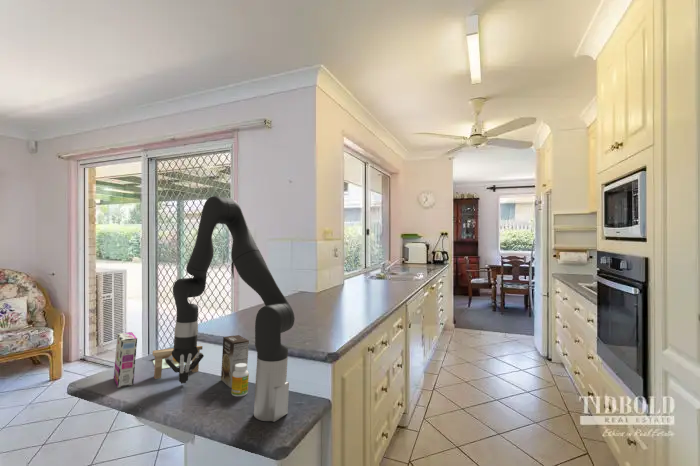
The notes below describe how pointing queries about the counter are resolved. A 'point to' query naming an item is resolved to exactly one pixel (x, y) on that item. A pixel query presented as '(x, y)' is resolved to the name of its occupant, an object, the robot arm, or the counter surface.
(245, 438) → the counter surface
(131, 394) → the counter surface
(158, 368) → the bridge
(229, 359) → the coffee box
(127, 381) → the candy bar box
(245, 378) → the supplement bottle
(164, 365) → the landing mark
